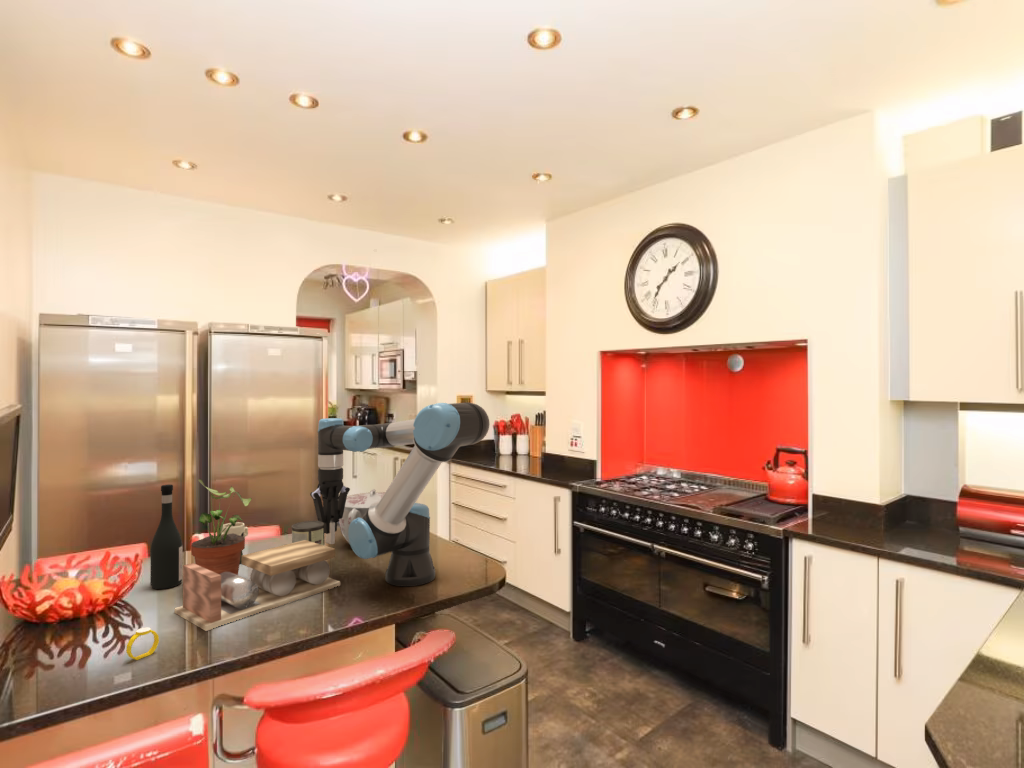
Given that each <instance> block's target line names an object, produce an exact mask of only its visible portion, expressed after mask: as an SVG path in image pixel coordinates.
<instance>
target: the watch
mask: <svg viewBox="0 0 1024 768" xmlns="http://www.w3.org/2000/svg"><path fill="white" fill-rule="evenodd" d="M150 633H151V634H152V635H153V639H154V640H153V643H152V646H151V648H149V649H148V651H147V652H144V653H142V654H140V655H136V656H134V655H133V653H132V647H133V644H134V643H135V641H136V640H137V638H139V637H140V636H146V635H148V634H150ZM159 643H160V637H159V634H158V633H157V632H156V631H155V630H152V628H151V627H141V628H138V629H137V630H135V633H134V634H133V635H132V636H131V637H130V638H129V640H128V642H127V643H126V651H125V652H126V655H127V656H128V657H129V658H130V659H133V660H136V661H138V660H140V659H143V658H147V657H149V656H151V655H152V654H154V652H155V651H156V650H157V647H158V645H159Z"/></svg>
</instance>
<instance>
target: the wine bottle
mask: <svg viewBox="0 0 1024 768" xmlns="http://www.w3.org/2000/svg"><path fill="white" fill-rule="evenodd" d="M160 491H161V515H160V520H159V524H158V527H157V529H156V531H155V533H154V535H153V538H152V542H151V545H150V568H149V569H150V575H149V576H150V578H149V580H150V583H149V585H150V587H151V588H153V589H154V590H155V589H156V590H167V589H171V588H174V587H176V586H178V585H180V584H181V583H182V582H183V541H182V536H181V533H180V532H179V530H178V528H177V526H176V523H175V520H174V516H173V491H174V485H173V484H163V485H160Z"/></svg>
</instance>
